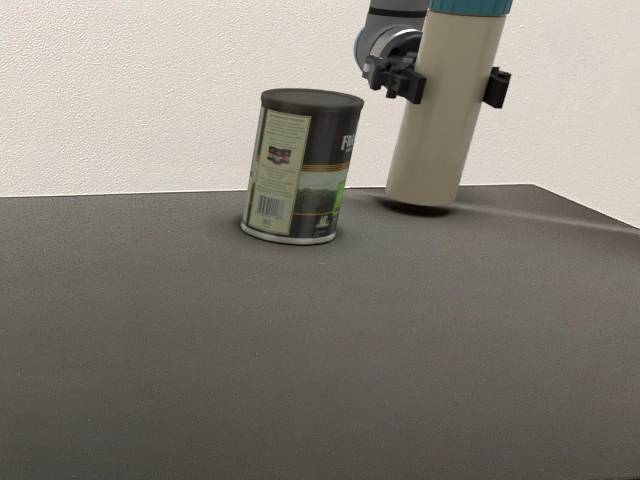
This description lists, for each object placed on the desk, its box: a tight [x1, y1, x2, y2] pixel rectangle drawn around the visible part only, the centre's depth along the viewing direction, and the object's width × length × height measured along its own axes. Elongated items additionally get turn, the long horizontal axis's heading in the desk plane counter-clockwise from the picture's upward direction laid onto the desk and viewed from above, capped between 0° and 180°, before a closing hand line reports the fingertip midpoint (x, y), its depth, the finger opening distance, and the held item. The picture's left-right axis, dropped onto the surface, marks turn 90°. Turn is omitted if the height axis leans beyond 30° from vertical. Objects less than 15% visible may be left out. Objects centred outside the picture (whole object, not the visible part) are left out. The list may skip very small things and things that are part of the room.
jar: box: [383, 9, 508, 207], centre depth 110 cm, size 8×8×22 cm
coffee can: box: [240, 87, 365, 246], centre depth 103 cm, size 10×10×14 cm
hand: (460, 93), depth 105 cm, fingers closed on jar, 8 cm apart
